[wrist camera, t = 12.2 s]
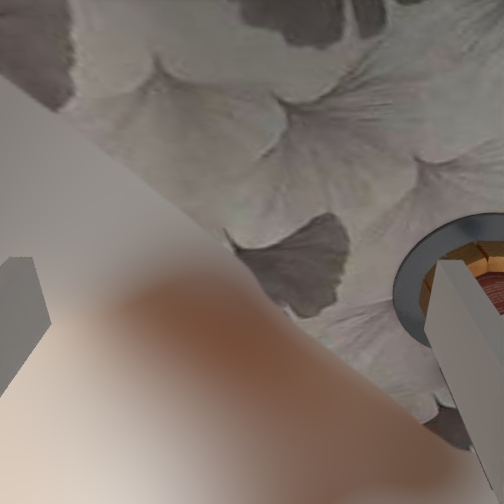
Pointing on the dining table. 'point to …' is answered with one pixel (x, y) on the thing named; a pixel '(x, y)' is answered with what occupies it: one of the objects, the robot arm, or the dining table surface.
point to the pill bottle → (493, 288)
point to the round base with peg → (446, 248)
